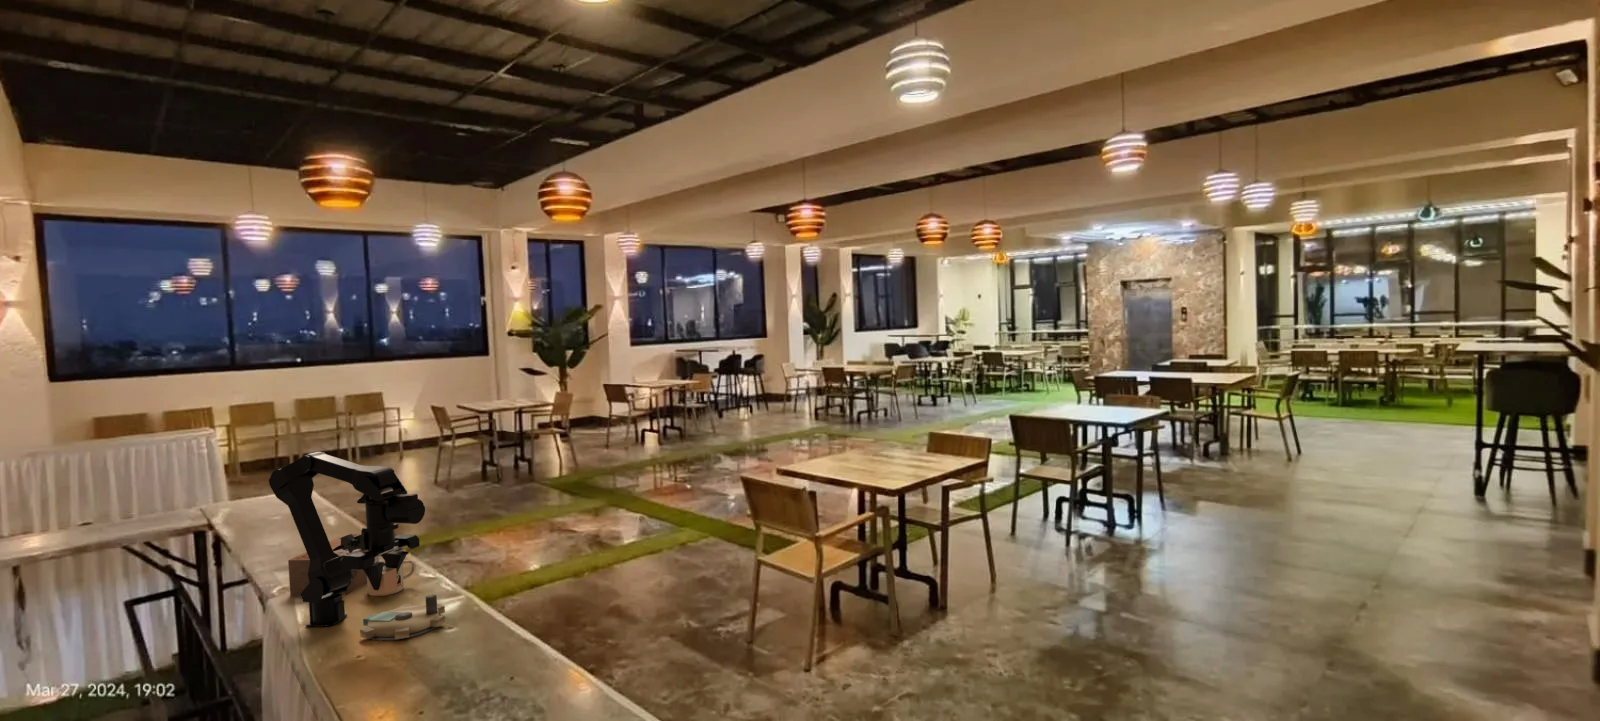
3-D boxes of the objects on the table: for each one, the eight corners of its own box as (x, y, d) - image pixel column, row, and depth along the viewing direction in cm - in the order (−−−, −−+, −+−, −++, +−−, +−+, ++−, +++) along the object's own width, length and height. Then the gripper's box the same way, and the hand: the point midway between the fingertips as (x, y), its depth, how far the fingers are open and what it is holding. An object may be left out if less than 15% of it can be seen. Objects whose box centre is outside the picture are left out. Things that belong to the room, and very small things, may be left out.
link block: (384, 594, 180) (383, 572, 180) (370, 593, 181) (369, 571, 181) (397, 588, 184) (396, 567, 184) (383, 587, 185) (382, 566, 185)
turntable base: (350, 641, 175) (350, 639, 175) (389, 614, 191) (389, 612, 191) (421, 640, 175) (420, 638, 175) (453, 613, 191) (453, 611, 191)
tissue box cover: (343, 596, 206) (341, 559, 205) (290, 597, 206) (288, 560, 206) (396, 565, 231) (395, 532, 231) (349, 566, 232) (347, 533, 231)
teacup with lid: (369, 599, 202) (367, 555, 201) (364, 590, 209) (361, 547, 209) (419, 589, 209) (417, 546, 209) (412, 580, 216) (410, 539, 216)
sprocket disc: (365, 617, 188) (364, 594, 188) (445, 604, 195) (443, 582, 195) (357, 645, 171) (356, 621, 171) (444, 631, 178) (443, 607, 178)
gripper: (381, 510, 193) (384, 572, 194) (318, 531, 175) (322, 598, 176) (419, 512, 190) (422, 574, 191) (359, 533, 172) (363, 602, 173)
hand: (383, 586), depth 183 cm, fingers closed on link block, 4 cm apart
